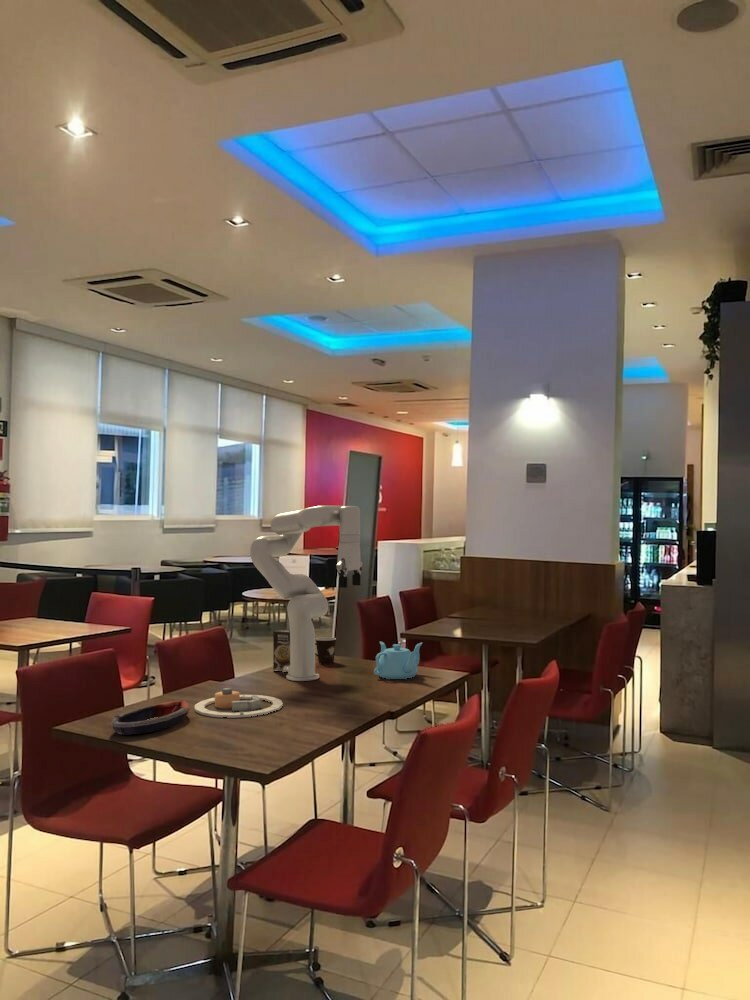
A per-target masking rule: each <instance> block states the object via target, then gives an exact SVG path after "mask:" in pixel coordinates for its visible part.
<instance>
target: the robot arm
mask: <svg viewBox="0 0 750 1000" xmlns="http://www.w3.org/2000/svg"><path fill="white" fill-rule="evenodd" d="M336 526H339V544H338V548H337V549H338V550H337V562H336V563H337V564H336V566H335V567H336V570H337V576H338V588H345V589H346V588H348V576H347V575H348V572H350V571H352V573H353V574H352V575H351V576H352V577H351V580H352V583H351V585H352V586H361V575H362V570H363V564H364V563H363V561H362V558H361V554H362V553H361V546H360V544H361V508H360V507H359V506H358V505H357V506H356V505H317V506H311V507H306V508H302V509H300V510H299V509H298V510H295V511H294V510H293V511H288V512H283V513H282V512H281V513H278V514H276V515H275V516H273V517H272V519H271V521H270V528H271V531H273V533H275V534H277V535H263V536H258V537H257V538H255V539H254V540H253V541H252V543H251V544H250V551H249V553H250V555H249V556H250V558H251V561H252V564H253V565H254V567H255V568H256V569H257V571H259V573H260V574H261V575H262V576H263V577H264V578H265V580H266V581H267V582H268V584H269V585H270V586H271V587H272V589H273V590H274V591H275V593H276V594H277V595H278V596H279V598H280V599H282V600H289V601H288V604H287V606H286V607H287V612H286V613H287V616H288V620H289V622H288V623H289V630H290V666H288V665H285V666H284V668H283V671H288V673H286V675H285V676H286V677H285V678H286V680H289V681H294V682H304V681H305V682H308V681H315V680H318V679H319V678H320V674H319V673H317V672H316V655H315V653H316V645H315V643H316V630H315V625H314V624H313V621H312V620H313V619H317V618H318V619H319V618H321V617H324V616H325V615H326V614H327V613H328V610H329V602H328V599H327V598H326V596H325V595H324V593H323V592H322V591H321V589H320V588H319V587H318V586H317V584H316V583H315V582H314V581H313V580H312V579H311V577H309V576H308V575H306V574H302V573H298V574H297V573H294V574H293V573H290V571H288V569H287V568H286V567H285V565H283V564H282V563H281V562H280V561H278V560H277V559H275V557H277V558H278V557H285V556H287V555H289V554H290V553H291V551H292V550H293V549H294V547H295V545H297V542H298V541H299V539H300V537H301V536H302V535H303V533H305V532H309V531H310V530H311V528H317V527H336Z"/></svg>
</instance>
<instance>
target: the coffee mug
mask: <svg viewBox="0 0 750 1000" xmlns="http://www.w3.org/2000/svg"><path fill="white" fill-rule="evenodd" d="M336 644H337V638H336V637H331V636H329V637H327V636H326V637H315V646H316V652H317V653H316V652H315V657H316V656H317V661H318V664H320V663H322V664H321V665H330V664H329V663H332V664H334V661H335V654H336Z"/></svg>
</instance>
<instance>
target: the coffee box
mask: <svg viewBox="0 0 750 1000" xmlns="http://www.w3.org/2000/svg"><path fill="white" fill-rule="evenodd" d="M272 632H273V637H272V638H273V641H272V642H273V650H272V651H273V655H272V656H273V657H272V659H273V660H272V662H273V663H272V666H273V670H272V671H274V670H278V671H283V668H284V666H285V665H288V666H290V629H278V630H274V631H272ZM286 672H288V671H286Z"/></svg>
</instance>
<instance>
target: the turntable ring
mask: <svg viewBox="0 0 750 1000" xmlns="http://www.w3.org/2000/svg"><path fill="white" fill-rule="evenodd" d="M252 695H253V694H240V700H252ZM256 695H257V698H258V699H261V701H263V700H265V701H264V702H267V701H268V703H270V702H271V703H270V704H272V705H270V706H269V707H265V708H263V709H262V708H261V709H258V710H254V711H239V712H224V711H223V712H221V711H215V710H209V709H207V708H206V707H207V706H208V705H212V704H215V697H211V698H207V699H203V700H201V701H199V702H198V703H196V704H194V712H195V713H197V714H200V715H201V716H206V717H212V718H223V717H227V719H235V718H236V719H237V718H252V717H257V715H258V716H263V714H264V715H269V714H271V713H270V712H272V713H273V711H275V712H277V711H276V710H278V711H279V710H280V709H281V708H283V707H284V703H283V701H282V699H279V698H277V697H273V696H270V695H269V696H268V695H262V694H256ZM282 706H283V707H282ZM268 713H269V714H268ZM251 716H252V717H251Z"/></svg>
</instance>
